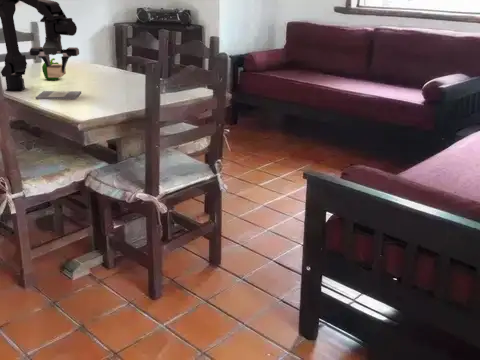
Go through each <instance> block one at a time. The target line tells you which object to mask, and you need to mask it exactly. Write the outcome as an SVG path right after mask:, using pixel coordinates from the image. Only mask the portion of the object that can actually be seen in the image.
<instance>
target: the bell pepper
mask: <svg viewBox="0 0 480 360" xmlns="http://www.w3.org/2000/svg"><path fill="white" fill-rule="evenodd" d="M55 60H56V58H54V57H53V58H50V65H52V64H60V63H59V62H54V61H55ZM41 68H42V73H43V76H44V78H45V79H46V80H48V81H56V80H59V79H60V78H55V77H48V72H47V66H46V64H45V62H44V63H42V66H41Z"/></svg>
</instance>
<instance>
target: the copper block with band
mask: <svg viewBox="0 0 480 360" xmlns="http://www.w3.org/2000/svg"><path fill="white" fill-rule="evenodd" d="M47 72H48V77H55V78H59V79H60V78H63V76H64V75H65V76H66V74H67V71H66V68H65V71H64V73H63V72H62V63H59V64H52V65H50V66H48V67H47Z"/></svg>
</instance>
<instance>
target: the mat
mask: <svg viewBox="0 0 480 360" xmlns="http://www.w3.org/2000/svg"><path fill="white" fill-rule="evenodd" d="M81 94H82V91H81V90H80V91H79V90H75V91H73V90H72V91H70V90H67V91H65V90H44V91H42V92H41V93H39V94H38V95H36V96H35V99H36V100H77V98H78V97H79V96H81Z"/></svg>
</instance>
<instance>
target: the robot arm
mask: <svg viewBox="0 0 480 360" xmlns="http://www.w3.org/2000/svg"><path fill="white" fill-rule="evenodd" d="M20 2H21V3H24V4H25V5H27V6H30V7H32V8H33V9H36V11H37V13H38V14H40V15H41V16H42V18H40V20H39V22H40V23H44V30H45V31H44V32H45V42H44V44H43V46H32V47H30V49H29V55H30V56H38V58H40V59H41V60H42V61H43V62H44V63H45V64H46V66H47V67H48V66H50V60H51V57H50V55H51V56H55V55H60V54H61V55H62V56H61V57H60V58H61V64H62V72H63V73H64V71H65V69H66V66H67V63H68V60H69V59H70V58H71V57H77V56H79V55H80V49H79V48H78V47H74V46H73V47H67V48H66V49H65V48H63V45H62V36H71V37H72V36H73V37H74V36H75V35H76V33H77V30H78V27H77V25H76V23H75V22H74V21H73V18H72V17H67V16H66V14H65V12H64V11H63V9H62V7H61V5H60V3H59V2H57V1H54V0H0V21H1V27H2V32H3V39H4V42H5V43H4V44H5V49H6V54H5V57H4V66H3V68H2V69H1V70H0V73H1V74H0V75H1V77H4V78H5V84H6V89H5V91H7V92H10V91H11V92H13V91H14V92H17V91H18V92H20V91H23V90H24V89H26V87H25V78H23V75H26V69H27V66H28V62H27V59H26V58H27V57H26V54H22V53H21V52H20V48H19V42H18V36H17V31H16V24H15V19H14V16H15V14H16V13H15V12H16V5H17V4H18V3H20Z"/></svg>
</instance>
